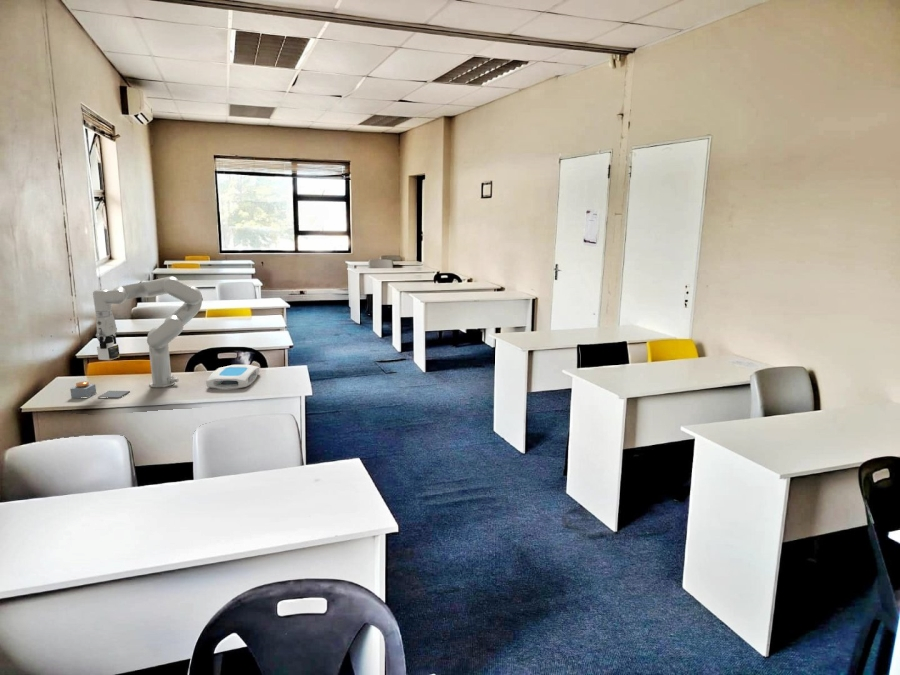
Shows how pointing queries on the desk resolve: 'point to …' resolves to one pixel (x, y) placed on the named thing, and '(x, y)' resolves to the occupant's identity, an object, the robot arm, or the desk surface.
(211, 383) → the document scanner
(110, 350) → the medicine bottle
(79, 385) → the release plunger
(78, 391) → the release housing
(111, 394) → the mat
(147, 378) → the desk surface
